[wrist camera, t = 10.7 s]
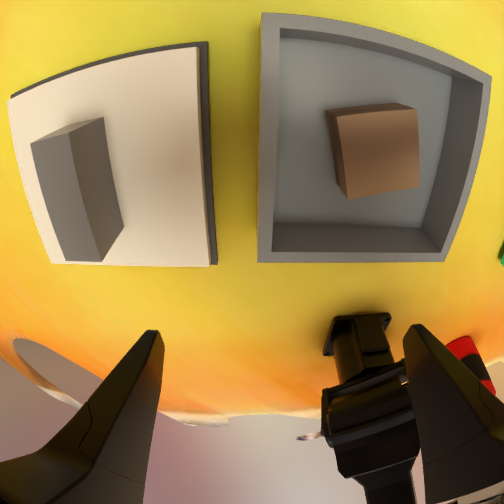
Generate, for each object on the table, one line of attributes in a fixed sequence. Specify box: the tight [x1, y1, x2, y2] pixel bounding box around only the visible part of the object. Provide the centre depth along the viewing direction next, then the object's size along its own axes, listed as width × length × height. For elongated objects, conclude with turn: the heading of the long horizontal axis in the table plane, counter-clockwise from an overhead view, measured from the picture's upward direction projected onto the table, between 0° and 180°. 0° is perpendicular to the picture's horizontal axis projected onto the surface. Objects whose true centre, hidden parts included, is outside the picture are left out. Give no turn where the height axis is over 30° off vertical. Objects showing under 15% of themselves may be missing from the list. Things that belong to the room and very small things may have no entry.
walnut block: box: [325, 103, 420, 200], centre depth 15 cm, size 5×5×2 cm
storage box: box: [257, 13, 492, 263], centre depth 15 cm, size 14×14×4 cm
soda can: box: [446, 337, 496, 395], centre depth 28 cm, size 8×8×12 cm
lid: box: [7, 47, 211, 267], centre depth 15 cm, size 15×15×5 cm
